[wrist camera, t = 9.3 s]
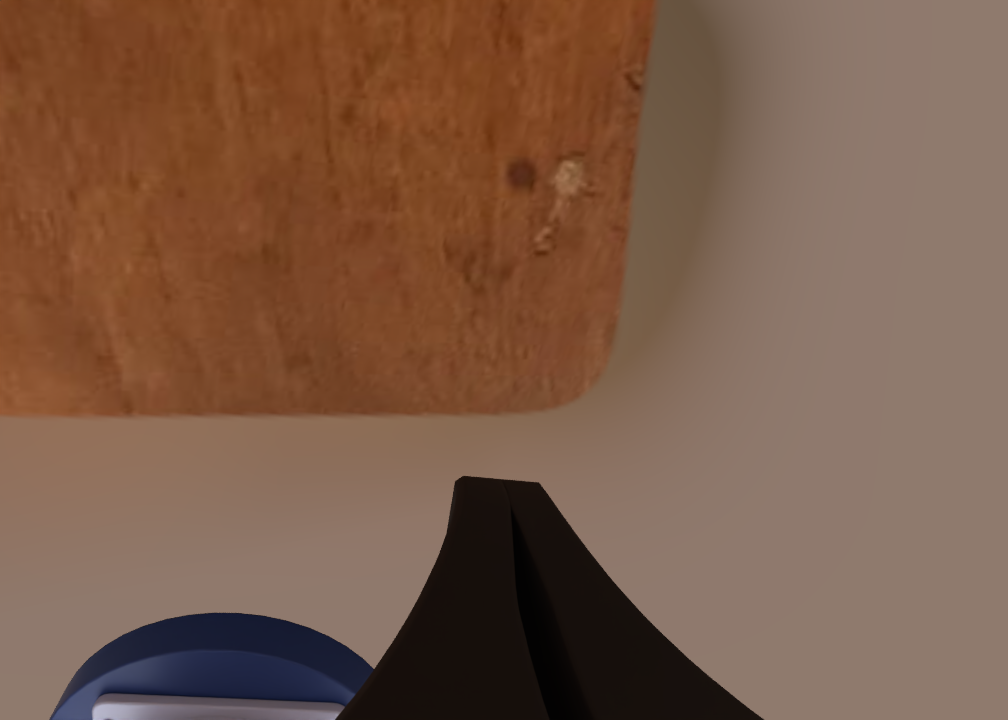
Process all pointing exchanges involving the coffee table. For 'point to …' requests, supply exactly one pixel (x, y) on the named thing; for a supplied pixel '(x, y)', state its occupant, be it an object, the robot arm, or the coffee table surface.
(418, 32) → the coffee table surface
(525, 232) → the coffee table surface
